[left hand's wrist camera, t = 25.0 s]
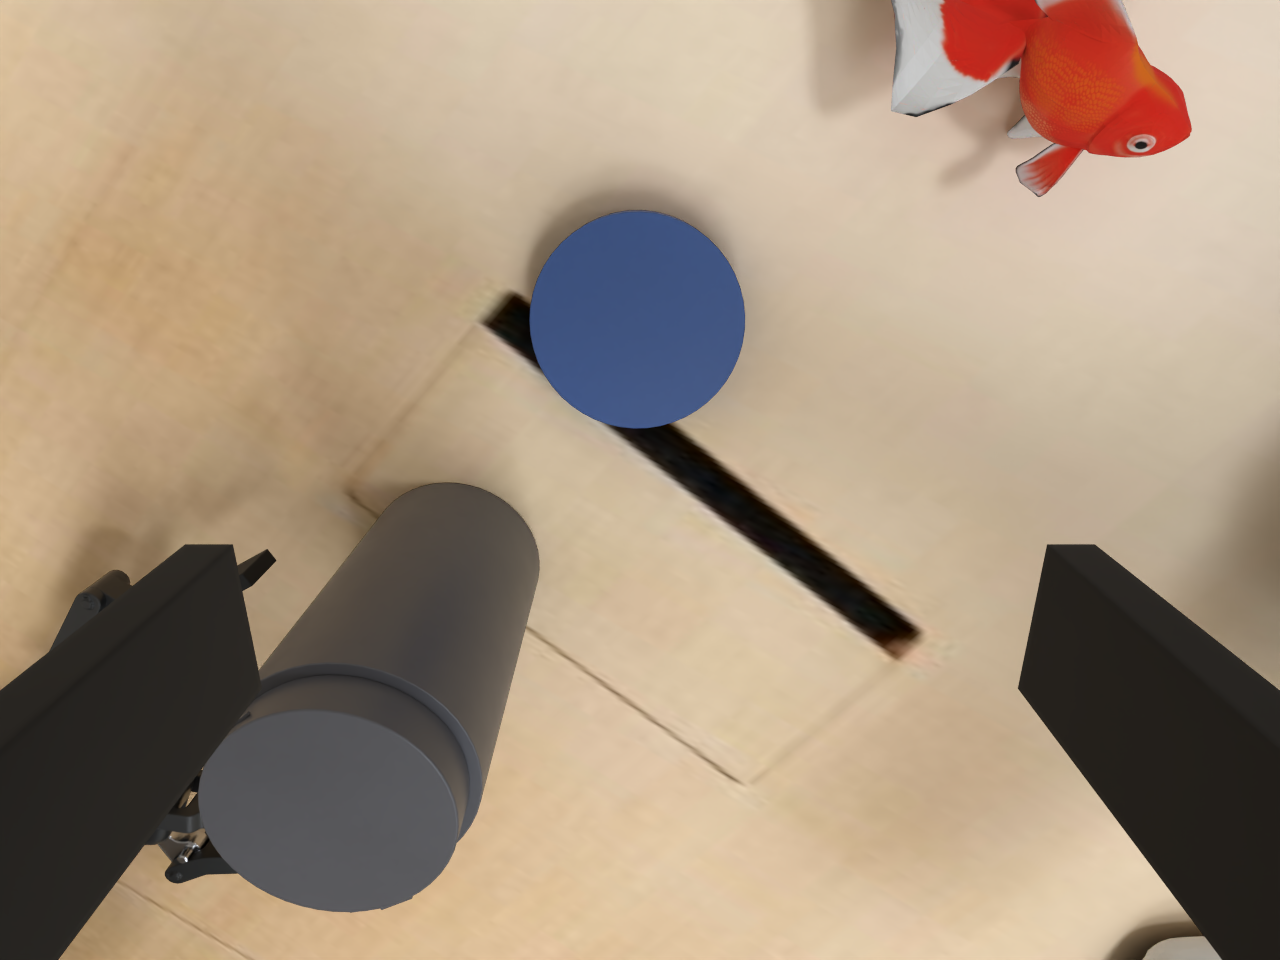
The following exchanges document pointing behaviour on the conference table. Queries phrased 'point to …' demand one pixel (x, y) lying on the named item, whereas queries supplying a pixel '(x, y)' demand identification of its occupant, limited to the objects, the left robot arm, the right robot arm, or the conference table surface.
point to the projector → (1182, 949)
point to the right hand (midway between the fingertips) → (342, 667)
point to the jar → (379, 709)
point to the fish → (1041, 75)
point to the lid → (637, 319)
